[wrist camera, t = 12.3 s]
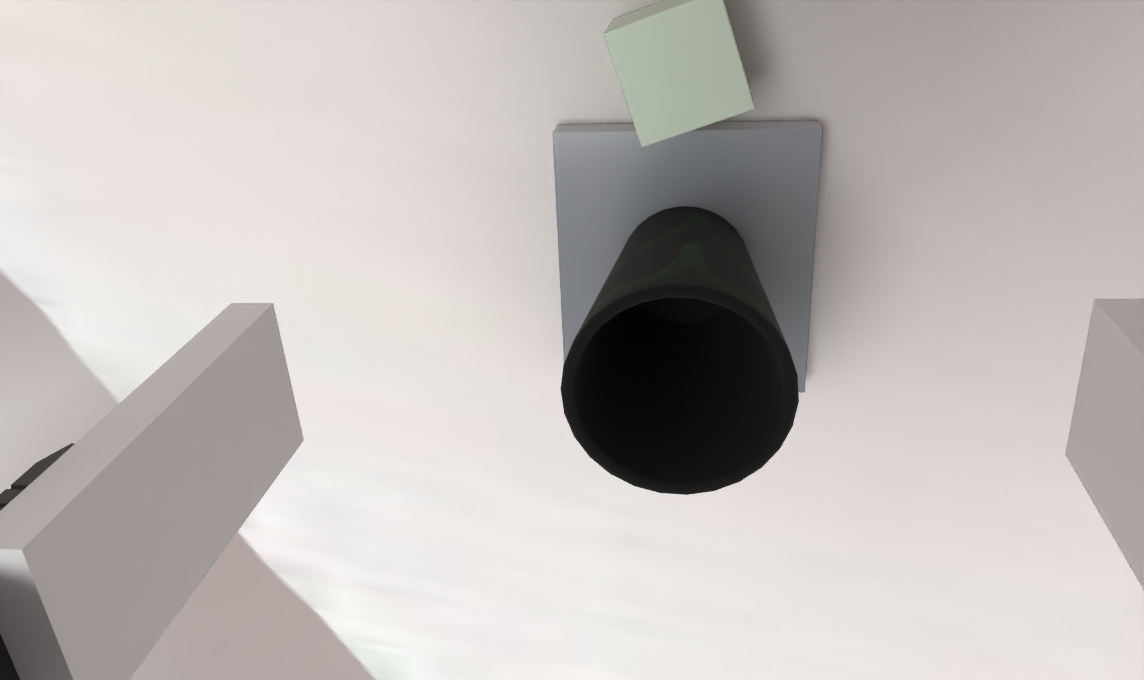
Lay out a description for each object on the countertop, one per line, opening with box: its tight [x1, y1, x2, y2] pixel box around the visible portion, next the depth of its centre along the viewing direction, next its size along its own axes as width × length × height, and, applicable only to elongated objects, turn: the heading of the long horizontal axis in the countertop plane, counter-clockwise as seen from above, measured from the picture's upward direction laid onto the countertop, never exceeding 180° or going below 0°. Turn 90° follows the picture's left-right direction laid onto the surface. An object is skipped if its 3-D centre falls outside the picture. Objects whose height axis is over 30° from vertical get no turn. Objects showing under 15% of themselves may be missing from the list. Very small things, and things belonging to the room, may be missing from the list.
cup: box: [561, 206, 799, 495], centre depth 36 cm, size 8×8×12 cm
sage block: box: [603, 0, 754, 147], centre depth 37 cm, size 4×4×5 cm
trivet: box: [553, 120, 822, 392], centre depth 43 cm, size 12×11×2 cm
